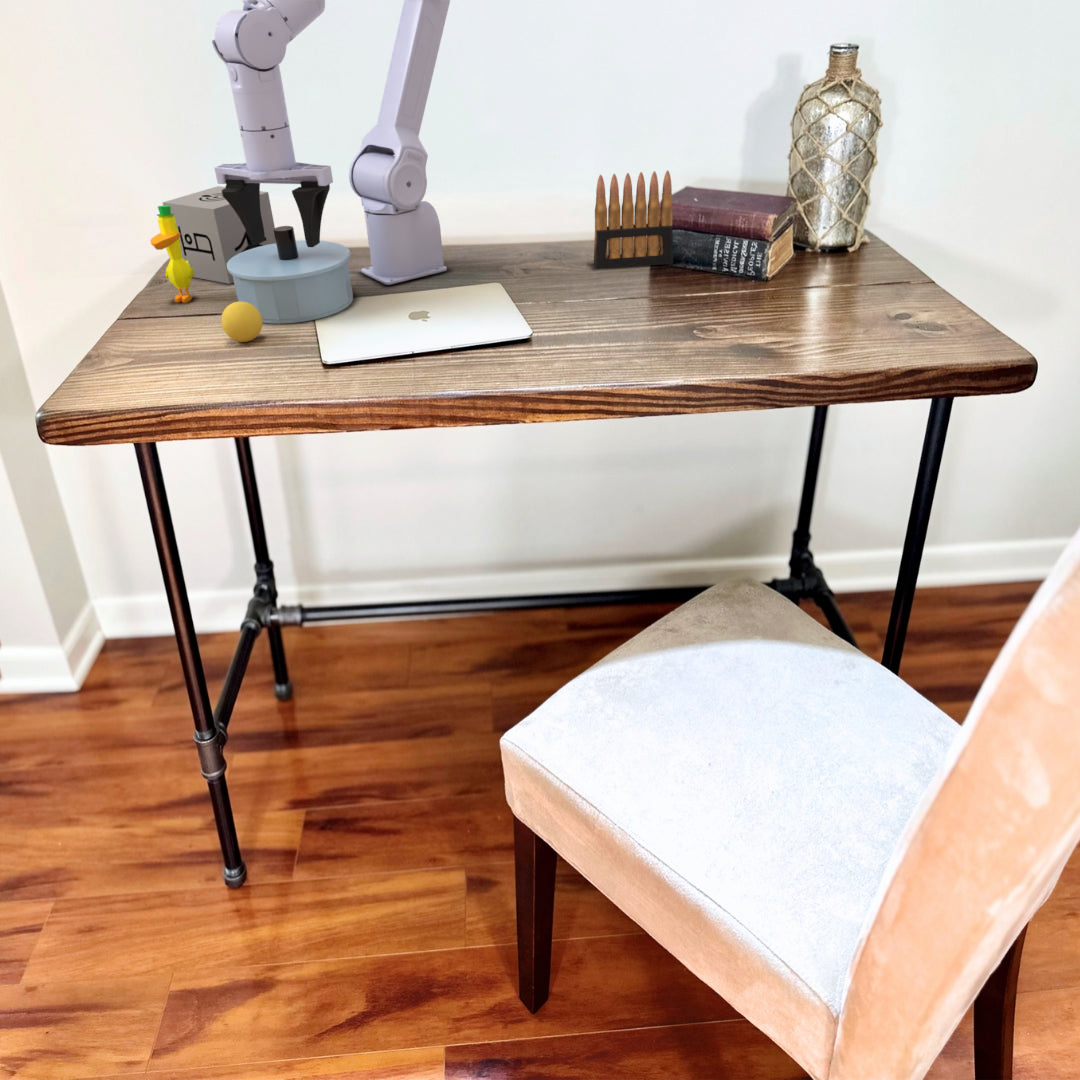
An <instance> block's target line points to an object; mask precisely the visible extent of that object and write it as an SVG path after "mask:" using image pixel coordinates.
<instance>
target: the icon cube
mask: <svg viewBox="0 0 1080 1080" xmlns="http://www.w3.org/2000/svg"><path fill="white" fill-rule="evenodd" d="M225 188H226V186H220V185H217V186H214V187H213V186H212V187H211V188H210V187H209V188H207V189H202V190H200V191H197V192H193V193H190V194H185V195H183V196H180V197H176V198H172V199H169V200H166V201H163V202H162V206H164V205H170V206H171V213H174V215H173V216H174V217H175V221H176V225H177V229H178V233H181V235H180V237H179V239H180V247H181V255H182V258H183V259H184V260H185V261H187V260H188V263H189V264H190V268H193V270H194V276H193V278H195V279H202V280H207V281H211V282H218V283H223V284H229V285H231V284H234V280H233V275H232V274H230V273H229V272H228V270H227V262H228V261H229V260H230V259H231V258H232V257H234V256H235V255H237V254H239V253H241V252H244V251H247V250H250V249H253V248H256V247H260V246H264V245H269V244H275V243H276V240H275V235H274V229H275V228H276V227H275V222H274V221H275V220H274V216H273V211H272V205H271V199H270V195H269V191H262V190H260V210H261V217H262V222H263V227H264V234H265V241H263V242H262V243H260V244H258V245H252V243H251V240H250V238H249V236H248V234H247V232H246V230H245V228H244V226H243V224H242V222H241V220H240V218H239V217H238V215H237V213H236V212H235V210H234V209H233V208H232V206H231V205H230V204H229V203H228V201H227V200H226V199H225V198H224V197H223V195H222V190H223V189H225Z"/></svg>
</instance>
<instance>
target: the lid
mask: <svg viewBox="0 0 1080 1080" xmlns="http://www.w3.org/2000/svg"><path fill="white" fill-rule="evenodd" d="M274 235H275V240H276V243H275V244H269V245H264V246H260V247H256V248H253V249H250V250H247V251H244V252H241V253H239V254H237V255H235V256H234V257H232V258H231V259H230V260H229V261H228V262H227V270H228V272H229V273H230V274H232V275H234V276H236V277H239V278H243V279H249V280H261V281H274V280H288V279H297V278H303V277H308V276H313V275H317V274H321V273H325V272H328V271H331V270H333V269H336V268H338V267H340V266H342V265H343V264H345V263H346V262H347V261H348V262H349V260H350V258H351V251H350V249H349V248H348V247H347V246H346V245H344V244H341V243H337V242H333V241H328V240H327V241H326V240H320V243H319V244H317V245H316V246H314V247H308V246H307V244H306V240H296V234H295V229H294V227H293V226H291V225H281V226H277V227H275V229H274Z"/></svg>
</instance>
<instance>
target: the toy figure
mask: <svg viewBox="0 0 1080 1080" xmlns="http://www.w3.org/2000/svg"><path fill="white" fill-rule="evenodd" d="M157 210H158V212H159V213H158V214H156V216H157V223H158V227H159V230H160V232H159V233H157V234H156V235H154V236H153V237H151V239H150V245H152V247H153V248H154V249H155V250H158V251H160V250H161V251H162V250H164V249H165V251H166V252H167V255H168V257H169V262H168V264H167V266H166V268H165V278H166V279H168V281H169V283H171V285H173V286H174V288H175V289H177V290H178V293H179V294H176V295H174V303H180V302H181V303H182V304H183V303H184V304H187V303H188V302H190V301H191V300H192V299H193V295H191V294H190V292H189V288H190V285H191V282H192V280H193V278H194V277H193V276H194V270H193V268H190V264H189V263H188V260H187V261H185V260H184V259H183V258H182V255H181V247H180V239H179V237H180V235H181V233H178V229H177V225H176V221H175V217H174V216H173V215H174V213H171V206H170V205H164V206H163V205H158V206H157ZM182 290H184V291H185V294H183V291H182Z"/></svg>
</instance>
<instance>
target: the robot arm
mask: <svg viewBox="0 0 1080 1080" xmlns="http://www.w3.org/2000/svg"><path fill="white" fill-rule="evenodd" d="M450 2H451V0H403V5H402V9H401V13H400V17H399V21H398V22H399V23H398V27H397V32H396V37H395V40H394V45H393V49H392V53H391V57H390V58H391V59H390V63H389V67H388V71H387V76H386V81H385V85H384V90H383V94H382V98H381V103H380V108H379V112H378V117H377V121H376V124H375V125H374V127H372V128H371V129H370V130H369V131H368V132H367V133H366V134H365V135H364V136H362V137H363V138H362V139H361V144H360V148H359V150H358V152H357V154H356V155H355V156H354V157H353V159H352V160H351V163H350V164H349V165H350V166H349V170H348V180H349V185H350V187H351V189H352V191H353V192H354V193H355V195H357V196H358V197H359V198H360V202H361V207H363V212H364V220H365V228H366V233H367V234H366V236H367V241H368V247H369V248H368V249H369V256H370V263H371V266H368V267H363V268H361V269H360V272H361V273H362V274H363V275H366V276H367V277H370V278H371V279H373V280H376V281H377V282H380V283H382V284H383V285H386V286H391V285H395V284H399V283H402V282H407V281H410V280H414V279H418V278H424V277H427V276H430V275H434V274H435V275H436V274H439V273H444V272H447V270H448V267H447V266H445V263H444V262H445V260H444V253H443V242H442V232H441V223H440V220H439V216H438V213H437V211H436V209H435V207H434V206H433V205H432V204H431V203H430V202H428V201H426V200H423V199H424V197H425V195H426V193H427V188H428V187H427V186H428V179H427V172H426V171H427V170H426V169H427V163H428V157H429V156H428V152H427V150H426V148H425V146H424V145H423V143H422V142H421V140H420V131H421V127H422V123H423V118H424V114H425V110H426V105H427V101H428V98H429V94H430V88H431V84H432V80H433V76H434V72H435V68H436V64H437V63H436V62H437V59H438V54H439V51H440V46H441V41H442V37H443V33H444V30H445V29H444V28H445V25H446V21H447V20H446V19H447V15H448V12H449V7H450V4H451V3H450ZM242 3H243V5H242V10H241V9H240V10H239V9H236V10H229V11H226V12H225V13H223V14H222V16H220V17H219V19H218V21H217V24H216V25H217V27H215V28H214V30H215V32H214V39H212V40H211V44H212V47H213V49H214V51H215V53H216V55H217V56H218V58H219V59H220V60H221V61H222V62H223V63H224V64H225V66H226V69H227V73H228V76H229V80H230V81H229V82H230V87H231V93H232V98H233V102H234V108H235V113H236V118H237V124H238V129H239V133H240V138H241V139H240V140H241V143H242V149H243V153H244V158H245V162H243V163H241V162H239V163H222V164H219V165H216V166H214V173H215V177H216V182H217V184H218V185H225V184H226V185H225V187H226V188H225V189H223V190H222V195H223V197H224V198H225V199H226V200H227V201H228V203H229V204H230V205H231V206H232V208H233V209H234V210H235V212H236V213H237V215H238V217H239V218H240V220H241V222H242V224H243V226H244V228H245V230H246V232H247V234H248V236H249V238H250V240H251V243H252V245H258V244H260V243H262V242H263V241H265V234H264V227H263V222H262V217H261V210H260V191H261V184H273V185H274V184H275V185H288V184H289V185H300V186H298V187H296V188H294V189H292V190H291V193H292V196H293V198H294V201H295V204H296V206H297V209H298V212H299V216H300V218H301V223H302V229H303V234H304V241H306V244H307V246H308V247H314V246H316V245H317V244H319V243H320V241H321V228H322V227H321V226H322V220H323V219H322V218H323V213H324V208H325V205H326V200H327V198H328V194H329V192H330V190H331V186H330V185H331V184H333V183H334V180H333V179H334V178H333V173H332V166H331V165H325V164H323V165H322V164H314V163H306V162H298V161H296V156H295V151H294V145H293V144H294V143H293V137H292V132H291V126H290V121H289V120H290V119H289V115H288V108H287V102H286V97H285V91H284V85H283V84H284V83H283V78H282V73H281V67H280V64H281V63H282V62H283V60H284V58H285V56H286V52H287V45H289V44H290V43H291V42H292V41H293V40H294V39H295V38H297V37H298V35H300V34H301V33H302V32H303V31H305V30H306V28H308V26H310V25H311V24H312V23H313V22H314V21H315V20H317V19H318V17H320V16H321V15H322V14H323V13H324V12H325V8H326V0H242Z"/></svg>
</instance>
